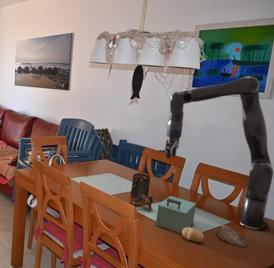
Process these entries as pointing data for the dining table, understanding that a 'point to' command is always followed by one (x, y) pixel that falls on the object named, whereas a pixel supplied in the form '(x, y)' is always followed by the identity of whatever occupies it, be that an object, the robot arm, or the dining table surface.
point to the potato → (193, 234)
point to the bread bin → (174, 219)
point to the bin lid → (177, 205)
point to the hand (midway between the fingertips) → (170, 157)
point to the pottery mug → (148, 202)
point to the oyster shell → (230, 236)
